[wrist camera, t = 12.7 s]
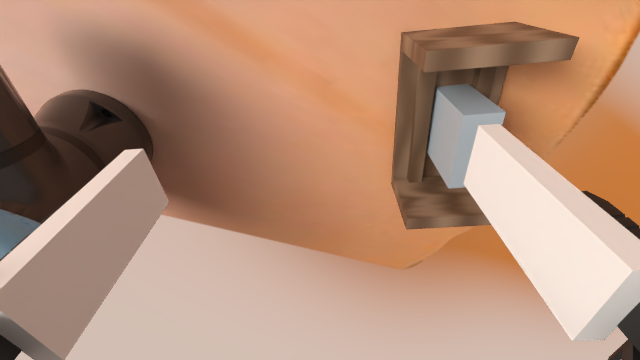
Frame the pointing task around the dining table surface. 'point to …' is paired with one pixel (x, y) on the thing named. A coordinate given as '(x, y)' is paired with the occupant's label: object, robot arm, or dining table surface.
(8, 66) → the dining table surface
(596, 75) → the dining table surface
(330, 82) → the dining table surface
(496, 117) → the plain grey rectangular block
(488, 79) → the track base
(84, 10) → the dining table surface
